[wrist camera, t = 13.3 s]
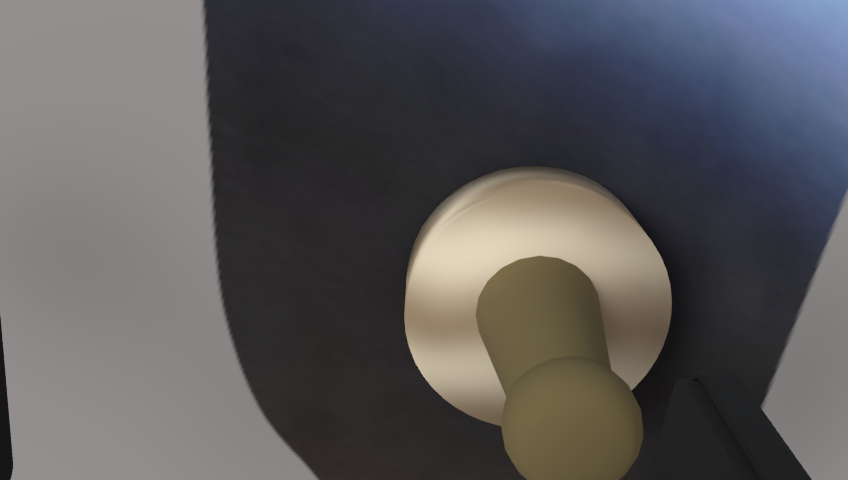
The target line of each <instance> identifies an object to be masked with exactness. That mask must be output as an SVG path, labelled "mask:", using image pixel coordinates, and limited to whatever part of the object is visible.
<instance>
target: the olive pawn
mask: <svg viewBox="0 0 848 480" xmlns="http://www.w3.org/2000/svg"><path fill="white" fill-rule="evenodd" d="M476 320H477V325H478V330H479V333H480V336H481V338H482V341H483V343H484V345H485V348H486V350H487V352H488V355H489V357H490V360H491V362H492V364H493V367H494V369H495V371H496V374H497V376H498V378H499V381H500V383H501V386H502V388H503V390H504V393H505V395H506V400H505V404H504V409H503V414H502V420H501V427H502V434H503V440H504V445H505V450H506V452H507V453H508V455H509V457H510V458H511V460H512V462H513V463H514V465H515V467H516V468H517V470H518V471H519V473H520V474H521V475H523V476H524V477H525V478H526V479H528V480H619V479H621V478H622V477H623V476H625V474H626V473H627V471H628V470H629V469H630V467H631V466H632V464H633V463H634V461H635V460H636V458H637V456H638V455H639V451H640V447H641V444H642V440H643V424H642V415H641V409H640V407H639V405H638V403H637V401H636V399H635V397H634V395H633V393H632V391H631V389H630V387H629V386H628V384H627V383H626V382H625V381H624V380H622V379H621V378H620V377H619V376H618V375H617V374H616V373H615V372H613V371H612V370H611V365H610V359H609V354H608V348H607V343H606V337H605V331H604V326H603V320H602V314H601V309H600V303H599V297H598V293H597V291H596V289H595V287H594V285H593V284H592V282H591V280H590V278H589V277H588V276H587V275H586V274H585V273H584V272H582V271H581V270H580V269H579V268H578V267H577V266H576V265H573V264H571V263H569V262H567V261H564V260H562V259H560V258H554V257H546V256H535V257H529V258H523V259H519V260H517V261H515V262H513V263H510V264H508V265H506V266H504V267H502V268H501V269H500V270H499V271H498V272H497V273H496V274H494V275H493V276H492V277H491V278H490V279H489V280H488V281H487V283H486V285H485V286H484V288H483V290H482V292H481V294H480V296H479V297H478V303H477V309H476Z"/></svg>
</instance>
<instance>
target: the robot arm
mask: <svg viewBox="0 0 848 480" xmlns="http://www.w3.org/2000/svg"><path fill="white" fill-rule="evenodd" d="M12 470H13V457H12V446H11V434H10V423H9V411H8V399H7V388H6V376H5V366H4V353H3V342H2V331H1V318H0V480H10V479H11V475H12ZM647 480H811V478H810V477H809V475H808V474H807V472H806V471H805V470H804V469H803V467H802V465H801V464H800V463H799V461H798V460H797V459H796V457H795V456H794V454H793V453H792V452H791V450H790V449H789V447H788V446H787V444H786V443H785V442H784V440H783V439H782V437H781V436H780V435H779V433H778V432H777V431H776V429H775V427H774V426H773V425H772V423H771V422H770V420H769V419H768V418H767V416H766V415H765V413H764V412H763V411H762V409H761V408H760V406H759V405H758V404H757V402H756V401H755V399H754V398H753V397H752V395H751V394H750V392H749V391H748V390H747V388H746V387H745V385H744V384H743V382H742V381H741V380H740V379H739V378H738V377H737V376H736V375H730V374H721V373H712V372H704V371H693V372H692V373H691V374H690V375H689V376H688V378H687V380H684V379H679V380H678V381H677V382H676V383H675V385H674V388H673V391H672V394H671V398H670V401H669V405H668V408H667V412H666V415H665V419H664V422H663V425H662V429H661V432H660V436H659V439H658V443H657V446H656V450H655V453H654V457H653V460H652V463H651V467H650V470H649V474H648V477H647Z"/></svg>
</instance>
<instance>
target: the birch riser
mask: <svg viewBox="0 0 848 480" xmlns="http://www.w3.org/2000/svg"><path fill="white" fill-rule="evenodd" d="M535 256H546V257H554V258H560V259H562V260H564V261H567V262H569V263H571V264H573V265H576V266H577V267H578V268H579V269H580V270H581V271H582V272H584V273H585V274H586V275H587V276H588V277H589V278H590V280H591V282H592V284H593V285H594V287H595V289H596V291H597V293H598V297H599V303H600V309H601V314H602V320H603V326H604V331H605V337H606V343H607V348H608V354H609V359H610V365H611V370H612V371H613V372H615V373H616V374H617V375H618V376H619V377H620V378H621V379H622V380H624V381H625V382H626V383H627V384H628V386H629V387H630V389H631V390H632V389H634V388H635V387H636V386H637V385H638V383H639V382H640V381H641V380H642V379H643V378H644V377H645V376H646V374H647V373H648V371H649V370H650V369H651V367H652V366H653V364H654V363H655V361H656V359H657V357H658V355H659V353H660V351H661V350H662V348H663V345H664V342H665V339H666V336H667V334H668V330H669V325H670V320H671V309H672V297H671V286H670V282H669V278H668V274H667V270H666V267H665V265H664V263H663V260H662V258H661V255H660V254H659V252H658V251H657V249H656V247H655V246H654V244H653V242H652V241H651V239H650V238H649V237H648V235H647V234H646V233H645V231H644V230H643V229H642V227H641V226H640V225H639V223H638V222H637V221H636V219H635V218H634V217H633V215H632V214H631V213H630V211H629V210H628V209H627V208H626V207H625V205H624V204H623V203H622V202H621V201H620V200H619V199H618V198H617V197H616V196H615V195H614V194H612V193H611V192H610V191H609V190H607V189H606V188H604V187H603V186H601V185H600V184H599V183H597V182H595V181H593V180H591V179H589V178H587V177H585V176H583V175H580V174H577V173H574V172H571V171H568V170H564V169H559V168H554V167H545V166H523V167H513V168H508V169H503V170H499V171H496V172H493V173H490V174H487V175H484V176H481V177H479V178H477V179H475V180H473V181H471V182H469V183H467V184H466V185H464V186H462V187H461V188H459V189H458V190H456V191H455V192H453V193H452V194H451V195H450V196H449V197H447V198H446V199H445V200H444V201H443V202H442V203H441V204H440V205H439V206H438V207H437V208H436V209H435V210H434V211H433V212H432V213H431V215H430V216H429V218H428V219H427V220H426V222H425V223H424V225H423V226H422V228H421V230H420V232H419V234H418V236H417V238H416V239H415V242H414V245H413V248H412V250H411V253H410V258H409V262H408V267H407V281H406V298H405V315H404V319H405V330H406V336H407V340H408V344H409V348H410V351H411V353H412V356H413V358H414V361H415V363H416V365H417V366H418V368H419V370H420V372H421V373H422V375H423V376H424V378H425V379H426V380H427V381H428V383H429V384H430V385H431V387H432V388H433V389H434V390H435V391H436V392H437V393H439V394H440V395H441V396H442V397H443V398H444V399H445V400H447V401H448V402H449V403H450V404H452V405H453V406H454V407H456V408H458V409H460V410H461V411H463V412H465V413H467V414H468V415H470V416H473V417H475V418H478V419H480V420H482V421H485V422H489V423H492V424H496V425H499V426H501V420H502V414H503V409H504V404H505V400H506V395H505V393H504V390H503V388H502V386H501V383H500V381H499V378H498V376H497V374H496V371H495V369H494V367H493V364H492V362H491V360H490V357H489V355H488V352H487V350H486V348H485V345H484V343H483V341H482V338H481V336H480V333H479V330H478V325H477V320H476V309H477V303H478V297H479V296H480V294H481V292H482V290H483V288H484V286H485V285H486V283H487V281H488V280H489V279H490V278H491V277H492V276H493V275H494V274H496V273H497V272H498V271H499V270H500V269H501V268H502V267H504V266H506V265H508V264H510V263H513V262H515V261H517V260H519V259H523V258H529V257H535Z"/></svg>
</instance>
